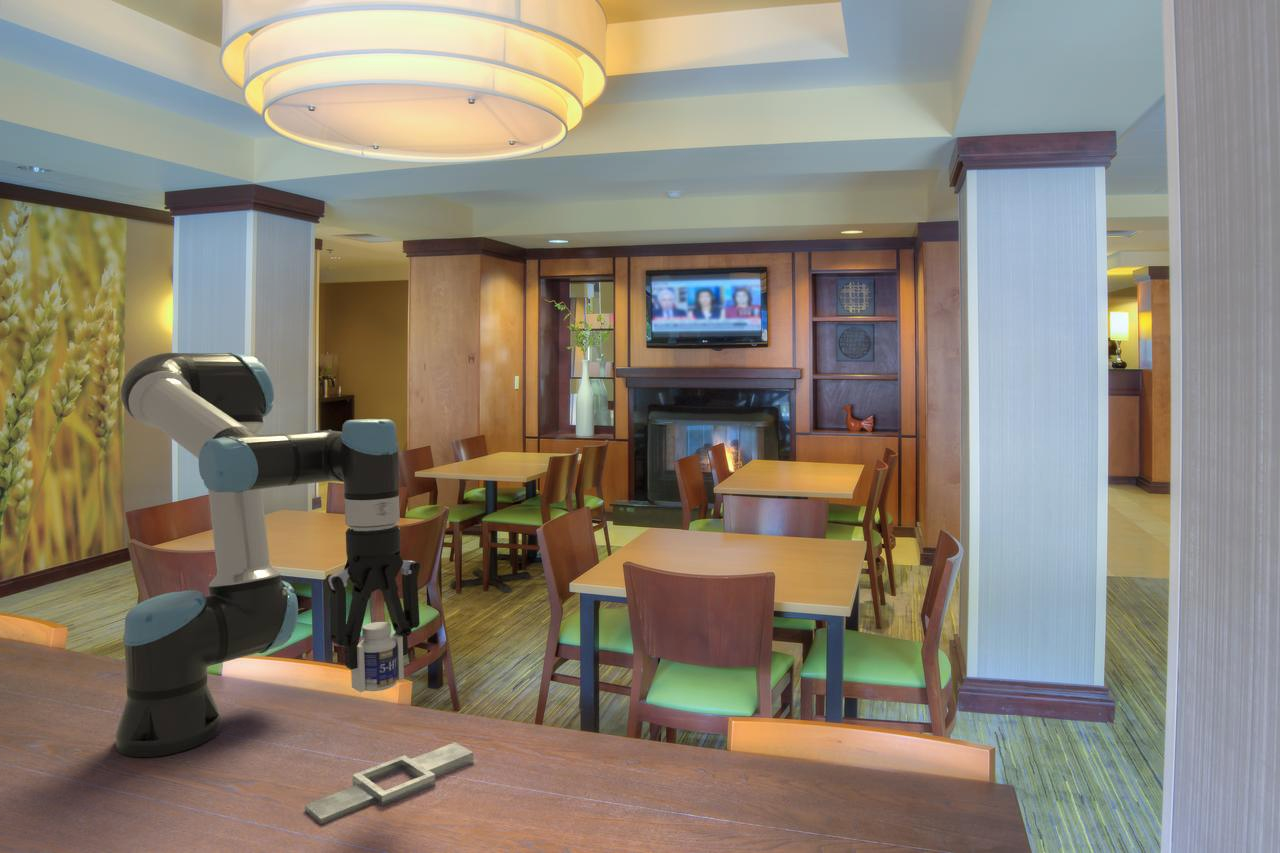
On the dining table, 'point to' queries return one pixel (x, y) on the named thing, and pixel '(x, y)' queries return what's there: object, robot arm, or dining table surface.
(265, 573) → the robot arm
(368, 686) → the pill bottle
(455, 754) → the square frame bracket
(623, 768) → the dining table surface
